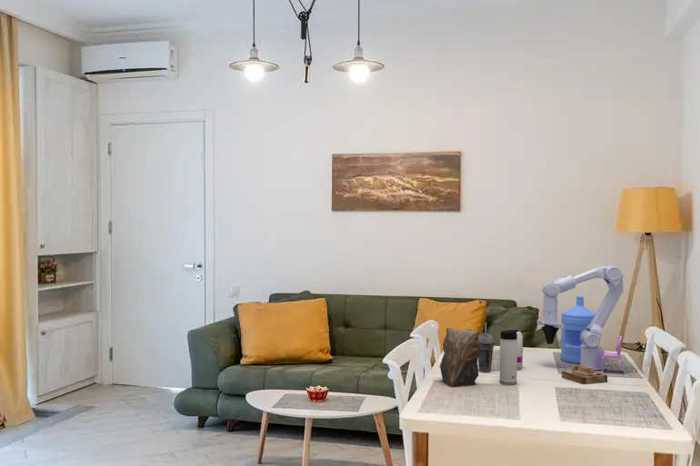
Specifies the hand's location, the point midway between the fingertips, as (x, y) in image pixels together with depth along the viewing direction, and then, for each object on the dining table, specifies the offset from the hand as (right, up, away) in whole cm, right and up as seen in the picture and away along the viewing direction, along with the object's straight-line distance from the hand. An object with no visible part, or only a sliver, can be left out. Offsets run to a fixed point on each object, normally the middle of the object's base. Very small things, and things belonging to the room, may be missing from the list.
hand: (549, 343), depth 286 cm
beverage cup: (-29, -10, -9) cm, 32 cm away
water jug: (+17, -10, +15) cm, 25 cm away
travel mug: (-24, -10, -30) cm, 40 cm away
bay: (+6, -10, -22) cm, 25 cm away
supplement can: (-16, -10, -3) cm, 19 cm away
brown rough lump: (-44, -10, -31) cm, 55 cm away
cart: (+7, -10, -23) cm, 26 cm away
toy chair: (+23, -11, -8) cm, 27 cm away
